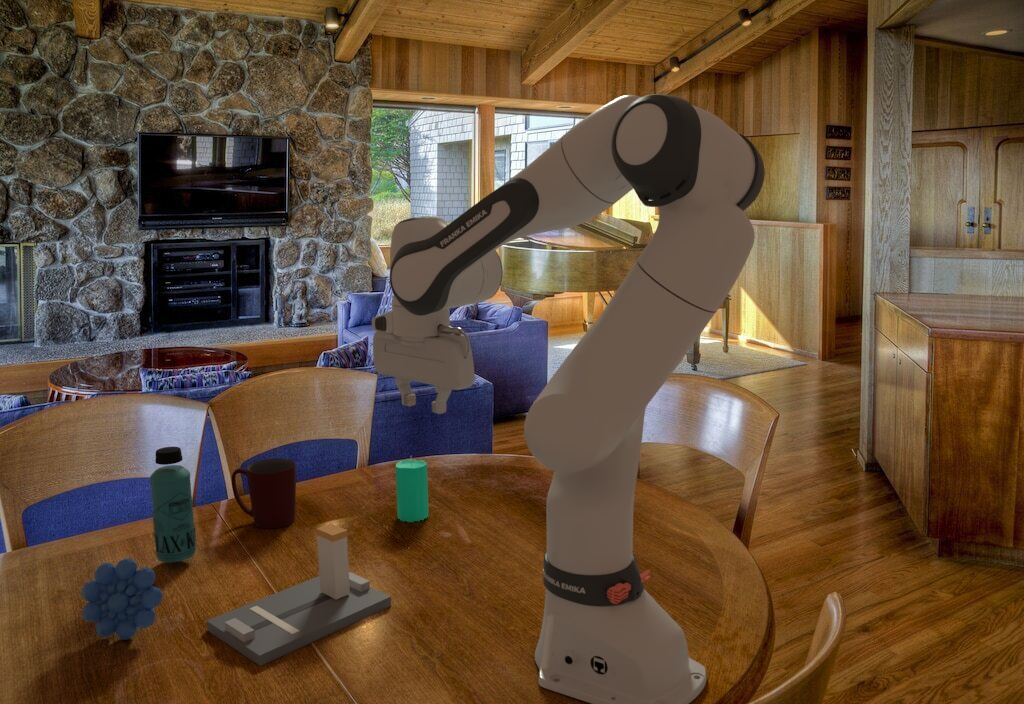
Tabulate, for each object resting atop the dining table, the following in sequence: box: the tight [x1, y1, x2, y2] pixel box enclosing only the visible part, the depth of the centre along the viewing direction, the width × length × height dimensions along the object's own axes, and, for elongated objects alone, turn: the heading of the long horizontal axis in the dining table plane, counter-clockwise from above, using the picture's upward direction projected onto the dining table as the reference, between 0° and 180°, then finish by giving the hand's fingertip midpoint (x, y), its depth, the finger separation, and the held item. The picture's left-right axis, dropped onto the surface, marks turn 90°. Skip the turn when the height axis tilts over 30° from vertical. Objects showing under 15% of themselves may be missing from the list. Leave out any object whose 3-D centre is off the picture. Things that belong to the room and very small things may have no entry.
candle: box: [395, 456, 430, 523], centre depth 162 cm, size 6×6×12 cm
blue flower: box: [81, 557, 164, 641], centre depth 119 cm, size 12×7×12 cm, turn 86°
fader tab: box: [315, 523, 350, 600], centre depth 127 cm, size 4×3×10 cm, turn 48°
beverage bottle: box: [149, 446, 197, 563], centre depth 142 cm, size 6×7×20 cm
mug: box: [231, 457, 297, 530], centre depth 160 cm, size 12×9×11 cm
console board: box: [206, 571, 392, 667], centre depth 124 cm, size 14×22×3 cm, turn 138°
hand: (423, 408), depth 135 cm, fingers open, 6 cm apart
